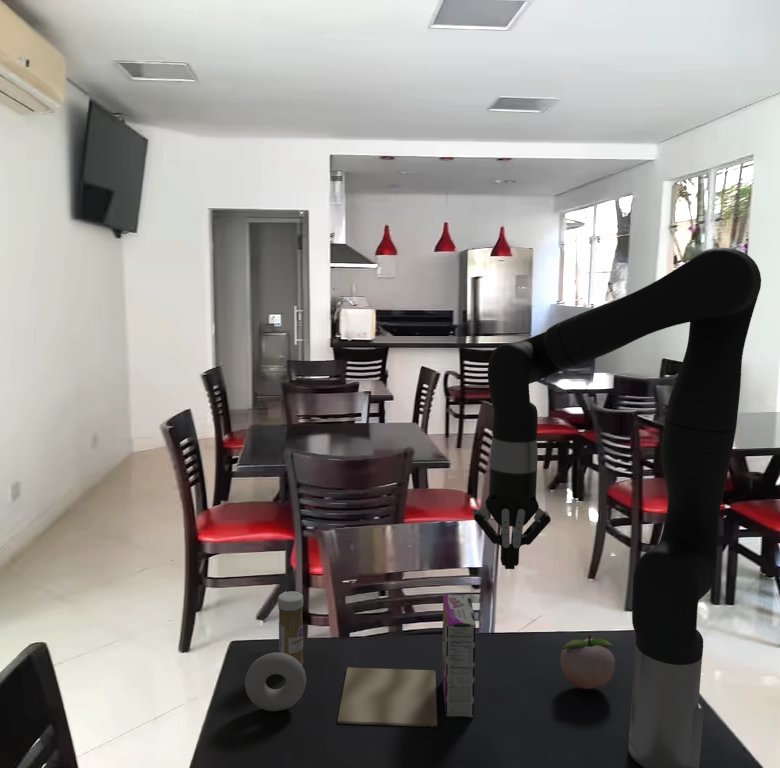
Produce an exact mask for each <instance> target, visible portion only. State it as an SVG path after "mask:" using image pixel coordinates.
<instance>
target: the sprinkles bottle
mask: <svg viewBox="0 0 780 768" xmlns="http://www.w3.org/2000/svg"><path fill="white" fill-rule="evenodd" d="M277 606H278V650H279V653H286V654H288V655H290V656H293V657H294V658H295V659H297V660H298V661H299V662H300V663H301V665H302V666H303V665H304V656H303V651H304V650H303V649H304V635H303V634H304V633H303V632H304V628H303V608H304V607H303V606H304V595H303V594H302V593H301V592H298V591H285V592H282V593H280V594H279V595H278V597H277Z"/></svg>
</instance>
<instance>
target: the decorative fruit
mask: <svg viewBox="0 0 780 768" xmlns="http://www.w3.org/2000/svg"><path fill="white" fill-rule="evenodd" d="M591 637H592V636H591V634H590V635H588V638H586V639H584V640H583V639H572V640H571V641H569V642H566V644H564V646H563V647H562V648H561V649H562V651H561V654H560V667H561V669H562V672H563V674H564V675H565V677H566V679H567V680H568V681H569V682H570V683H571V684H573V685H574V686H575V687H578V688H580V689H584V690H590V689H597V688H601V687H603V686H605V685H607V684H608V683H609V682H610V681H611V679H612V677H613V676H614V672H615V669H616V660H615V657H614V654H613V653H612V651H611V649H610V647H611V648H614V645H613V644H612V643H611V642H610V641H608V640H606V639H603V638H591Z"/></svg>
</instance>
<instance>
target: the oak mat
mask: <svg viewBox="0 0 780 768" xmlns="http://www.w3.org/2000/svg"><path fill="white" fill-rule="evenodd" d="M436 677H437V676H436V670H432V669H431V670H430V669H408V668H407V669H406V668H405V669H403V668H402V669H400V668H379V667H378V668H376V667H375V668H374V667H373V668H371V667H369V668H368V667H349V666H348V667H346V674H345V678H344V682H343V683H344V684H343V687H342V688H343V689H342V695H341V700H340V705H339V710H338V716H337V720H336V721H337V722H336V723H337V724H349V725H350V724H351V725H373V726H375V725H379V726H401V727H402V726H404V727H428V726H430V727H429V728H437V727H438V706H437V681H436V679H437V678H436ZM434 726H436V727H434Z"/></svg>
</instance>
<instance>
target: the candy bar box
mask: <svg viewBox="0 0 780 768" xmlns="http://www.w3.org/2000/svg"><path fill="white" fill-rule="evenodd" d="M442 597H443V599H442V600H443V602H442V603H443V605H442V678H441V679H442V680H441V681H442V690H443V701H444V702H443V703H444V710H445V717H447V718H474V717H475V689H476V688H475V684H476V683H475V679H476V677H475V676H476V675H475V674H476V632H477V631H476V626H477V625H476V618H475V613H474V608H473V603H472V598H471V594H452V593H449V594H443V596H442Z"/></svg>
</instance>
